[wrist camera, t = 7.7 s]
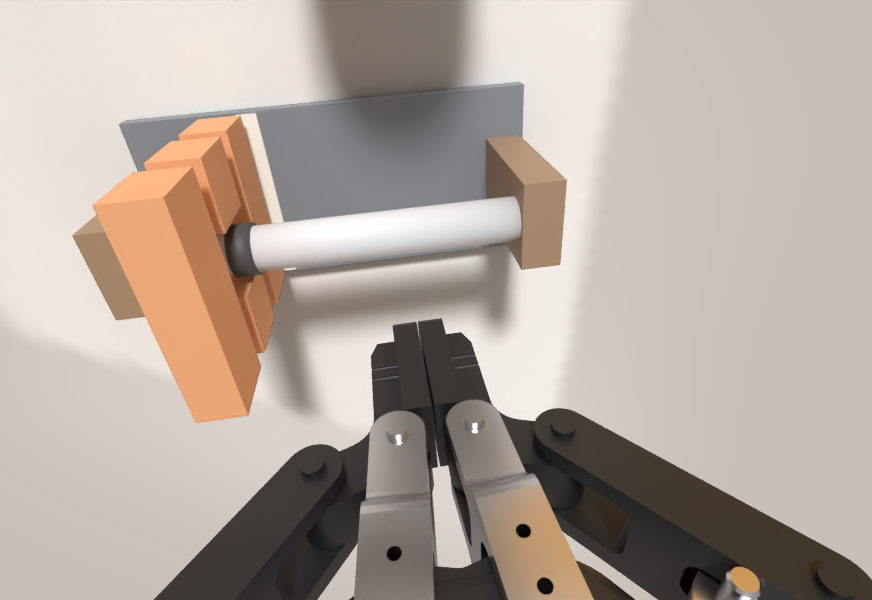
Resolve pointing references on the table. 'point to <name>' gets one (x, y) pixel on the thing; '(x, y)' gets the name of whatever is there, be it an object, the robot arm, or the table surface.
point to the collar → (197, 263)
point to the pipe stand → (370, 184)
